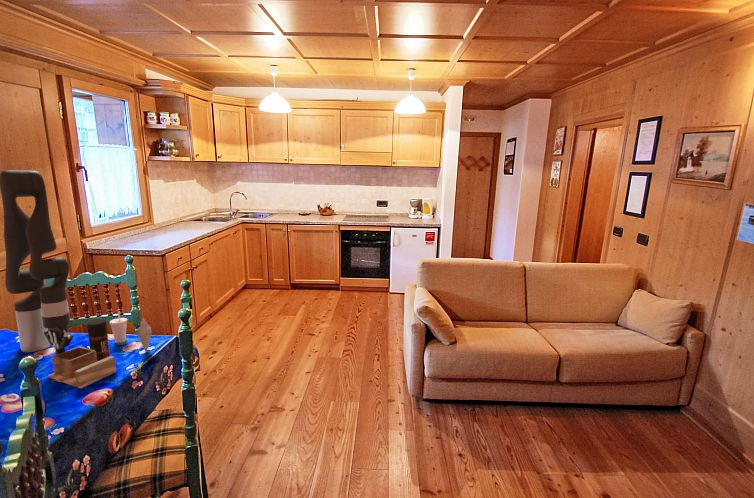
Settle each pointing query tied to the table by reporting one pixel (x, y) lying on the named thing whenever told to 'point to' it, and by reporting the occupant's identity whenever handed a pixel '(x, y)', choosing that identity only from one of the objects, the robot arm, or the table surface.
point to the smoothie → (119, 328)
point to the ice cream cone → (144, 333)
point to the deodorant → (98, 338)
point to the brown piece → (89, 373)
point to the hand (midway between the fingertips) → (61, 356)
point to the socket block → (73, 361)
